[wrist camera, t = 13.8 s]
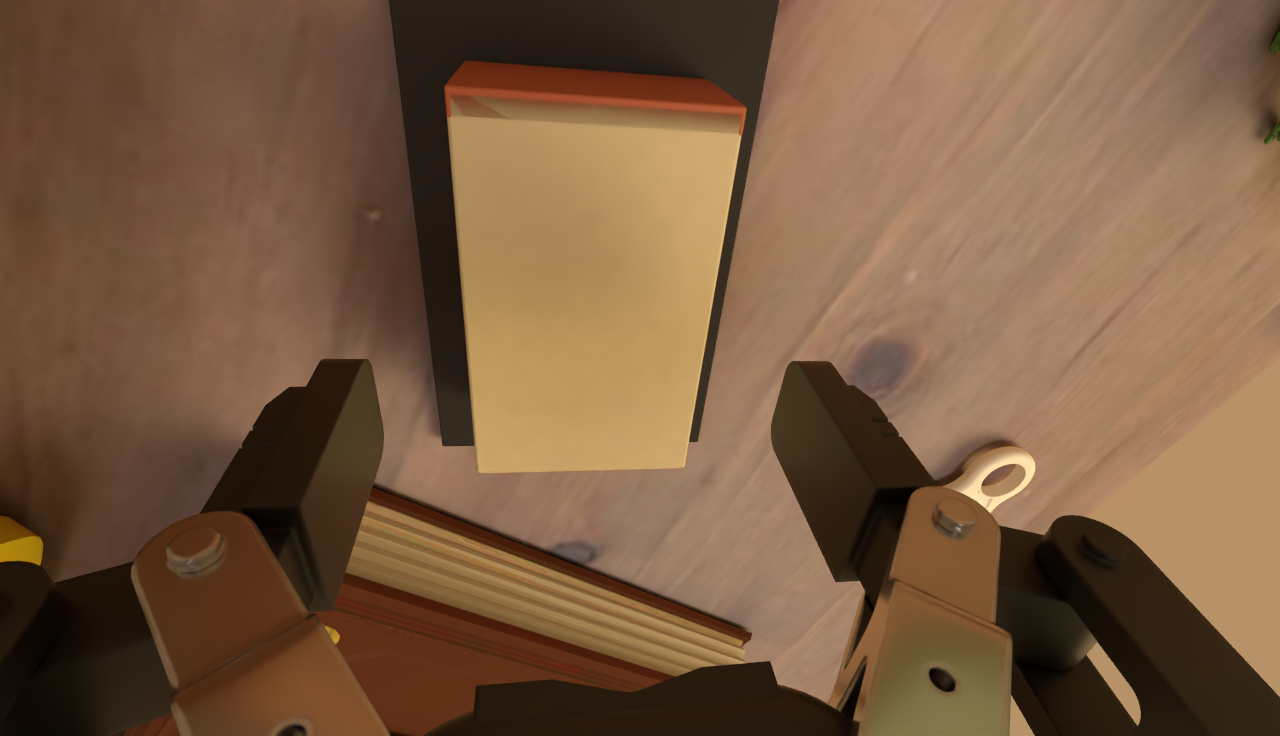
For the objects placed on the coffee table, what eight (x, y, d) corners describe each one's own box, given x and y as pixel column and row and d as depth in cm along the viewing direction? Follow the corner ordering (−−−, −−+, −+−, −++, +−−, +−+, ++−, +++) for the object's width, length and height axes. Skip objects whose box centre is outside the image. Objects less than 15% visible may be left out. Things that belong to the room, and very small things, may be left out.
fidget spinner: (852, 516, 26) (860, 530, 25) (970, 413, 23) (982, 426, 23) (950, 562, 29) (960, 576, 28) (1065, 474, 26) (1078, 488, 26)
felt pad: (386, -48, 13) (383, -48, 13) (775, -7, 15) (781, -6, 14) (444, 439, 21) (442, 446, 21) (695, 435, 22) (697, 442, 22)
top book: (463, 59, 14) (443, 85, 11) (709, 79, 15) (747, 106, 12) (486, 400, 20) (476, 474, 17) (665, 398, 21) (685, 469, 18)
